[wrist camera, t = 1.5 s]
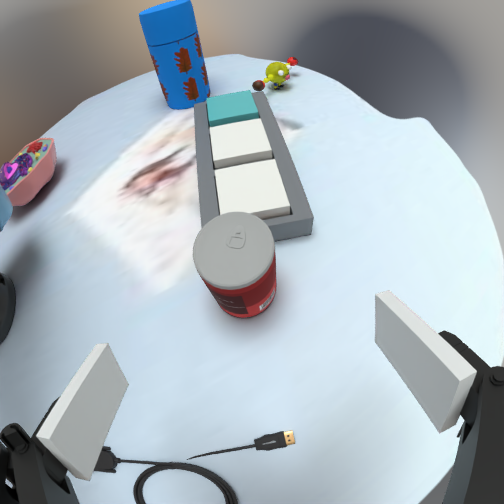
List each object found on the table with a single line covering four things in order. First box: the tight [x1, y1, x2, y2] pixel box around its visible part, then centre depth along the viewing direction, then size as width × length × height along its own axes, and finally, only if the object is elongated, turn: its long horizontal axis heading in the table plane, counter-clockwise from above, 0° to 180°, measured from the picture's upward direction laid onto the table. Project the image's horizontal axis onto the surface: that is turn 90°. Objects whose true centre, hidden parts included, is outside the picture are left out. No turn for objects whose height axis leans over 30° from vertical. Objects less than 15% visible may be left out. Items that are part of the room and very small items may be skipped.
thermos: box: [139, 0, 210, 110], centre depth 48 cm, size 11×11×25 cm
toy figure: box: [252, 57, 298, 91], centre depth 55 cm, size 18×6×7 cm, turn 147°
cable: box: [94, 430, 295, 504], centre depth 23 cm, size 14×28×2 cm, turn 102°
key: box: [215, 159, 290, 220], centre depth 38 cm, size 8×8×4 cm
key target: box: [206, 90, 259, 128], centre depth 48 cm, size 8×8×4 cm
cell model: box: [0, 138, 56, 206], centre depth 46 cm, size 17×20×11 cm
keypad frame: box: [194, 91, 314, 241], centre depth 44 cm, size 14×32×4 cm, turn 10°
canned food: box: [193, 212, 276, 318], centre depth 31 cm, size 8×8×11 cm
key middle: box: [210, 118, 272, 169], centre depth 43 cm, size 8×8×4 cm
